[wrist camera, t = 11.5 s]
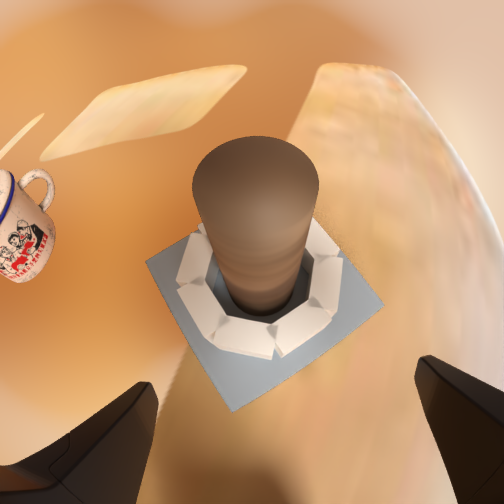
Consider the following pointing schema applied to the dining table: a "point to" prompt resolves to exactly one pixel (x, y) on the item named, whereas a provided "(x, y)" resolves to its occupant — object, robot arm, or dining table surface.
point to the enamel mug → (24, 227)
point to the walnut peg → (257, 217)
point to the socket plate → (257, 327)
